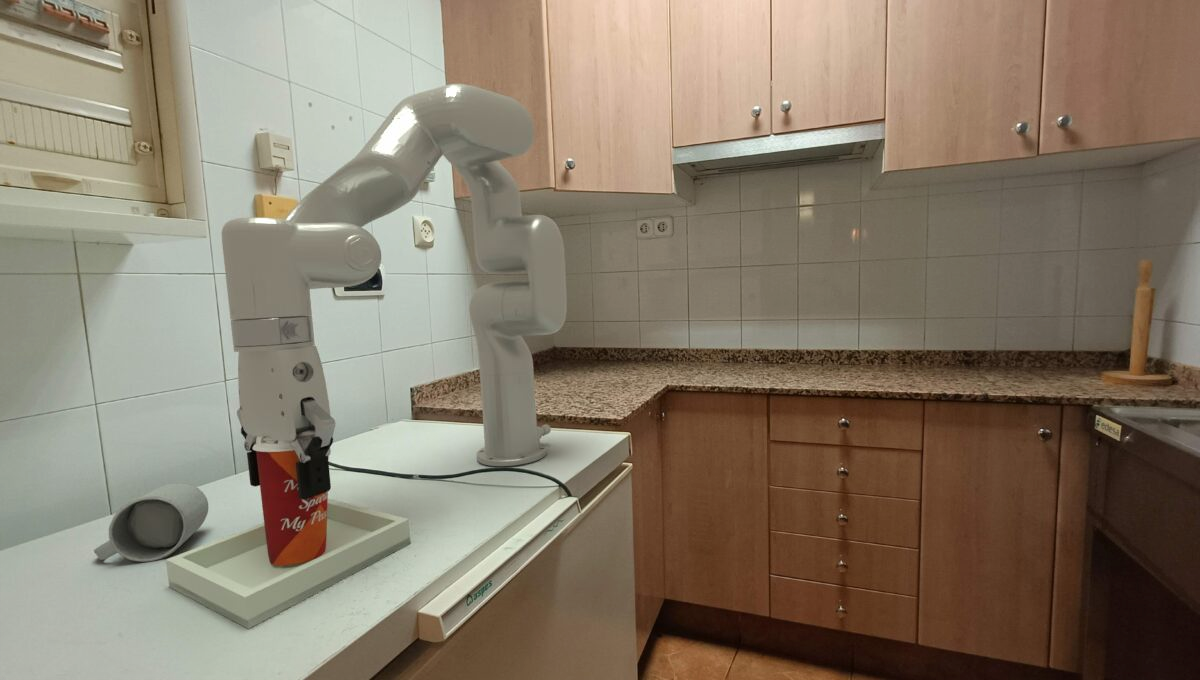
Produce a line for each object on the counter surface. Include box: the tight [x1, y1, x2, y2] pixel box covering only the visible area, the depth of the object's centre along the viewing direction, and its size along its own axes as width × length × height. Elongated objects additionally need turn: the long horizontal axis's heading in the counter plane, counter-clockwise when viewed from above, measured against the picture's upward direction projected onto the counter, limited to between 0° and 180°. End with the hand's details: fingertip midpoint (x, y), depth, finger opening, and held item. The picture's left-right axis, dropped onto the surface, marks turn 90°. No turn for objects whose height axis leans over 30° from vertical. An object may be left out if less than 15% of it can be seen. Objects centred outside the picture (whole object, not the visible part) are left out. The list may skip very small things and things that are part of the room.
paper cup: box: [252, 430, 330, 566], centre depth 59 cm, size 8×8×14 cm
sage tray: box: [165, 498, 412, 630], centre depth 59 cm, size 18×16×3 cm
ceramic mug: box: [93, 482, 209, 563], centre depth 65 cm, size 11×8×8 cm
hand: (290, 488), depth 59 cm, fingers open, 9 cm apart
